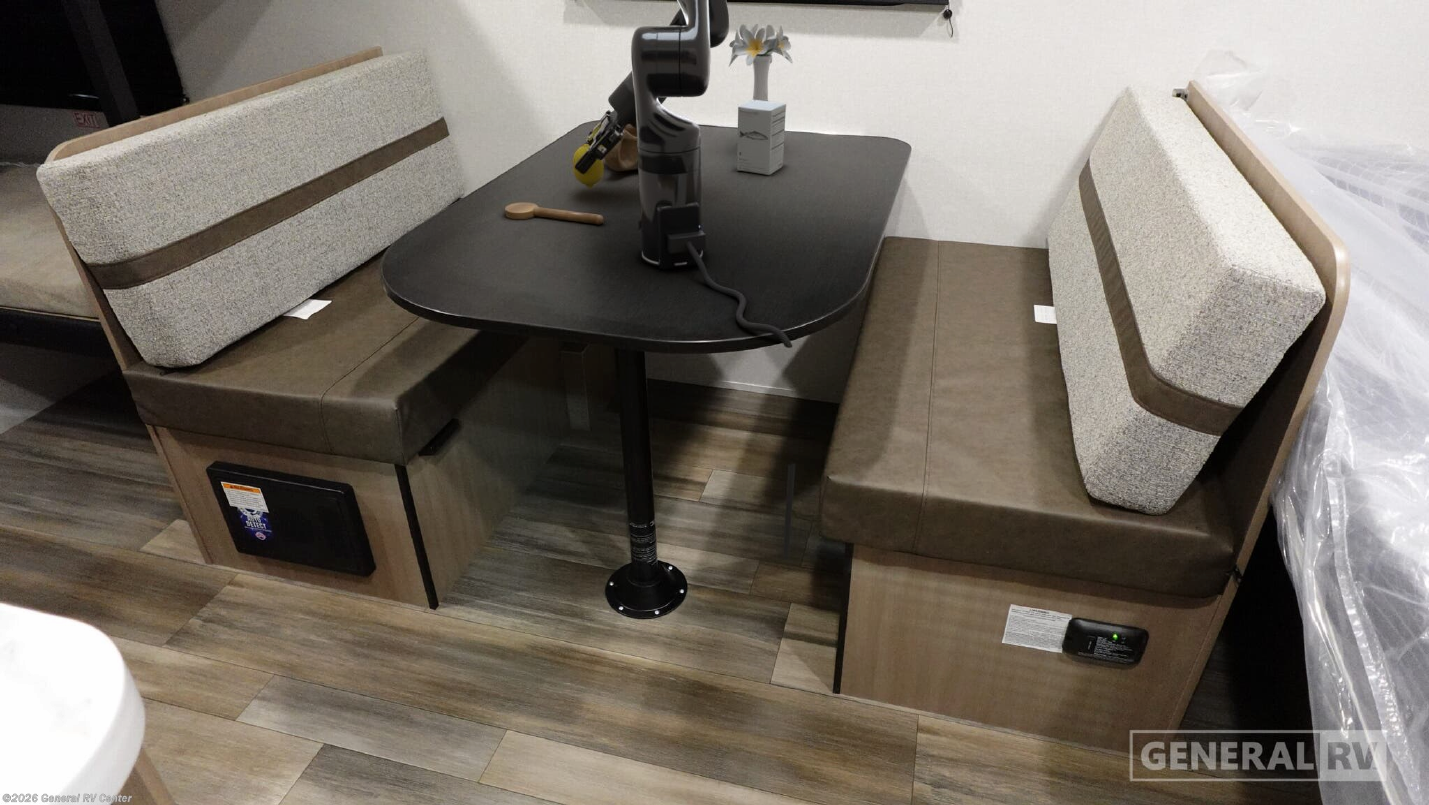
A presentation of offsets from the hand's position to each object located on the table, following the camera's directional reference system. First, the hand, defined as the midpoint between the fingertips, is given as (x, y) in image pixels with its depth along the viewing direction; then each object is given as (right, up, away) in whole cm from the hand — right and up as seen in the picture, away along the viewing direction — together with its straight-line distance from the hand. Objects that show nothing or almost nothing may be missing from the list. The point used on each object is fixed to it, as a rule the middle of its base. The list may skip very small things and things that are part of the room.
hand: (578, 165), depth 159 cm
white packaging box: (+34, +4, +18) cm, 38 cm away
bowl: (+8, +4, +18) cm, 21 cm away
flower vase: (+34, +12, +31) cm, 48 cm away
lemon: (+2, -4, +2) cm, 5 cm away
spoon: (-3, -11, -7) cm, 14 cm away
